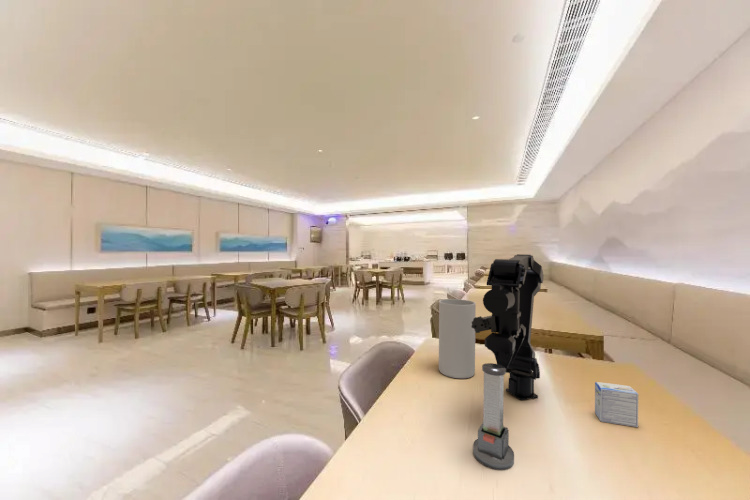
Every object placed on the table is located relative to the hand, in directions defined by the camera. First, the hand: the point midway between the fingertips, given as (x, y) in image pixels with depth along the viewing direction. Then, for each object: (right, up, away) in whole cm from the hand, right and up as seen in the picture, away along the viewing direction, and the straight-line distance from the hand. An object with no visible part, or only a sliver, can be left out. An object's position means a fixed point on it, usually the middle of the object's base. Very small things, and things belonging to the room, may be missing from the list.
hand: (506, 368), depth 77 cm
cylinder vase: (-5, -13, +30) cm, 33 cm away
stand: (-9, -13, -14) cm, 21 cm away
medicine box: (+28, -14, 0) cm, 31 cm away
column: (-9, -7, -14) cm, 18 cm away
